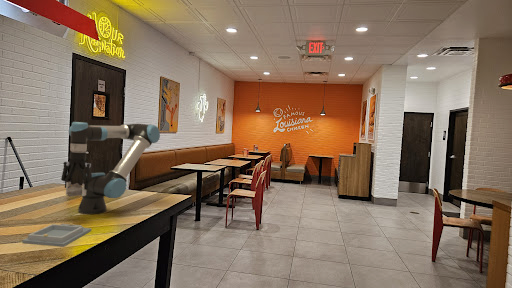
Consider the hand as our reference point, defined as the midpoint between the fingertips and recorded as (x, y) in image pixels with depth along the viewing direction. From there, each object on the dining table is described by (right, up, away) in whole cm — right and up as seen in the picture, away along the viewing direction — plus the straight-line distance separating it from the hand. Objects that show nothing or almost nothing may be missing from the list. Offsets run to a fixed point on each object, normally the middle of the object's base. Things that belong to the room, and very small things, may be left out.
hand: (76, 194), depth 168 cm
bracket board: (+3, -16, -20) cm, 26 cm away
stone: (-1, 0, +1) cm, 1 cm away
